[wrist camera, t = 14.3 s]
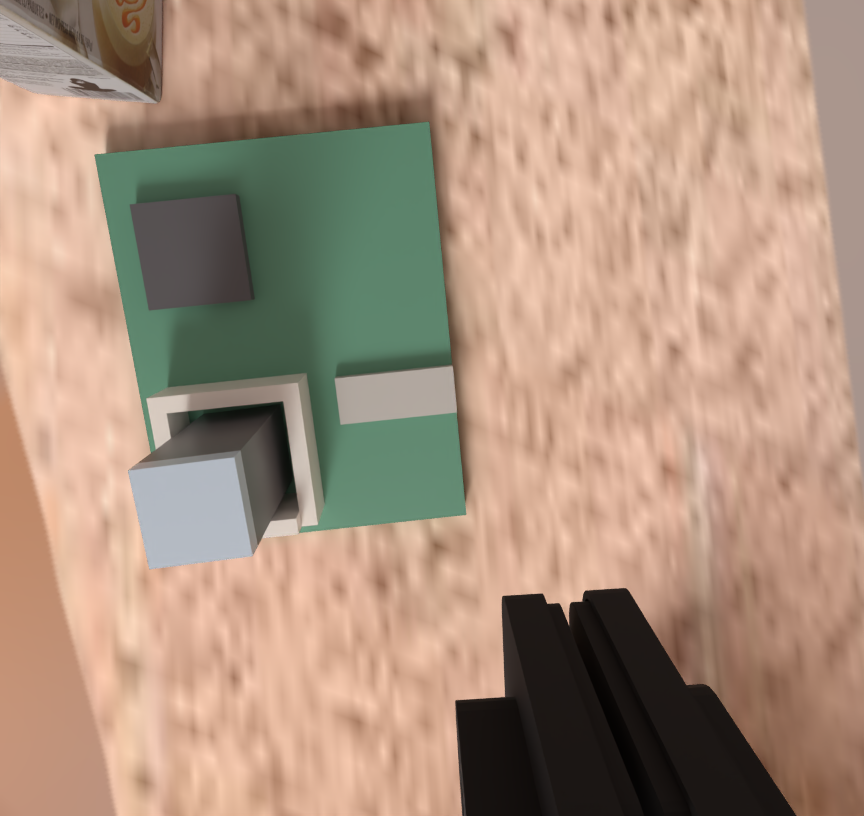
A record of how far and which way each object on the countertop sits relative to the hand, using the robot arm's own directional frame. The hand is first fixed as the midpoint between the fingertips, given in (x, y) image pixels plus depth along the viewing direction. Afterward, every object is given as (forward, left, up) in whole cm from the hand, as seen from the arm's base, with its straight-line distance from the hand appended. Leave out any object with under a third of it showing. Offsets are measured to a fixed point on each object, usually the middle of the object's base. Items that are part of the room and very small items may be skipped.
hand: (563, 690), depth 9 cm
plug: (+3, -11, -27) cm, 29 cm away
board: (-2, -8, -28) cm, 29 cm away
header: (+3, -11, -27) cm, 29 cm away
